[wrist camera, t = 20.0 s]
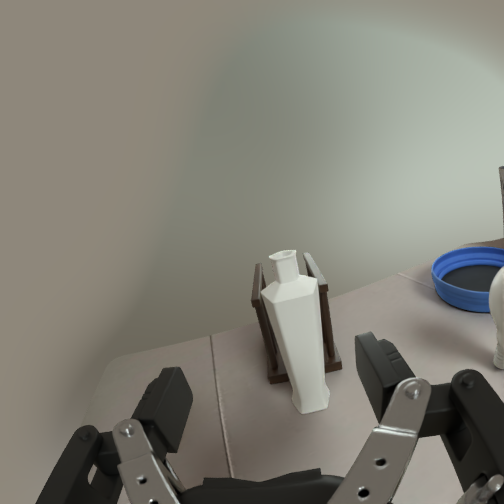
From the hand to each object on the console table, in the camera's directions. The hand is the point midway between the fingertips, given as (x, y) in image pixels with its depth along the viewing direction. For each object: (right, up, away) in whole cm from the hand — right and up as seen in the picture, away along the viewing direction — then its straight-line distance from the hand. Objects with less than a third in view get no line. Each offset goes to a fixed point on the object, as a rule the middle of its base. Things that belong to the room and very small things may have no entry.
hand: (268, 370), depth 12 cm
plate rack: (+5, -7, +22) cm, 24 cm away
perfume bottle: (+5, -9, +12) cm, 16 cm away
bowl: (+35, 0, +20) cm, 40 cm away
